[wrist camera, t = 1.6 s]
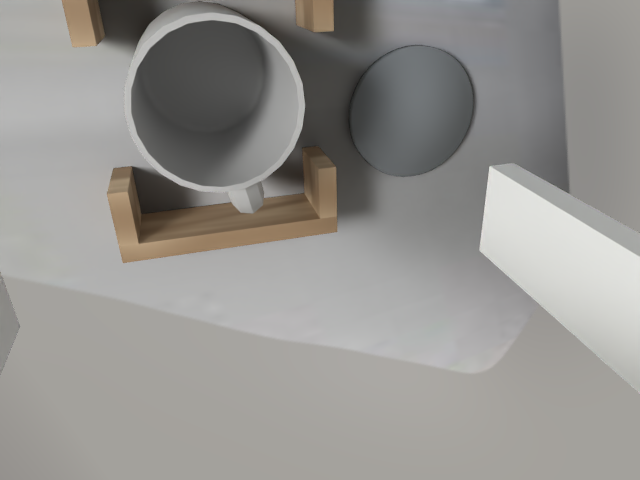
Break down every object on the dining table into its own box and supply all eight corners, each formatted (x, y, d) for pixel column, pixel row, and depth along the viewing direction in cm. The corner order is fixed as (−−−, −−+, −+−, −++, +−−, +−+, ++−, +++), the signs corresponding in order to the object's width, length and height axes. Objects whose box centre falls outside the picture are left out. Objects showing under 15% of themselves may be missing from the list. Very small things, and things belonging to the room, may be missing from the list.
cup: (247, -17, 28) (278, -11, 20) (295, 158, 33) (336, 216, 25) (111, 22, 27) (90, 43, 19) (182, 195, 32) (187, 266, 24)
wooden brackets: (64, -53, 25) (48, -57, 22) (311, -59, 28) (332, -63, 24) (127, 231, 32) (122, 263, 29) (320, 205, 35) (337, 231, 31)
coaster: (348, 49, 31) (351, 51, 30) (474, 40, 32) (479, 42, 32) (349, 180, 34) (352, 183, 34) (462, 166, 36) (466, 169, 35)
